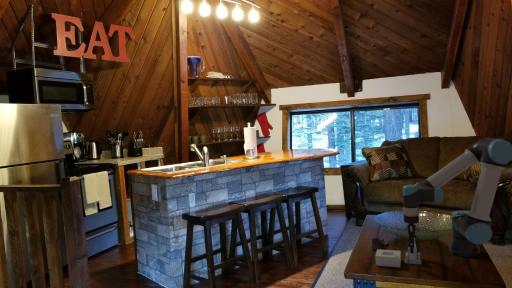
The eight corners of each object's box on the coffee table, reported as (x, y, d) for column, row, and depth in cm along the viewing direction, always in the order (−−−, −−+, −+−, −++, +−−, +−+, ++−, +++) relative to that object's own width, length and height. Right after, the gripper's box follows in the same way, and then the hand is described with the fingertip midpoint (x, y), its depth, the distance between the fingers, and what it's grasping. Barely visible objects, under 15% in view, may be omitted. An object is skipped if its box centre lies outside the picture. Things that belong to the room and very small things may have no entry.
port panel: (401, 261, 212) (400, 250, 212) (400, 269, 203) (399, 256, 203) (377, 260, 217) (377, 248, 217) (375, 267, 208) (375, 255, 207)
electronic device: (386, 254, 225) (386, 241, 224) (371, 250, 232) (370, 238, 231) (390, 251, 228) (390, 239, 227) (375, 248, 235) (374, 236, 234)
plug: (417, 260, 210) (416, 244, 209) (417, 262, 207) (416, 246, 206) (409, 260, 211) (408, 243, 211) (408, 262, 209) (408, 245, 208)
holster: (421, 261, 210) (420, 252, 210) (421, 266, 205) (420, 256, 205) (405, 260, 214) (404, 251, 213) (404, 264, 208) (404, 255, 208)
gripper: (404, 208, 220) (405, 245, 222) (402, 220, 197) (403, 262, 199) (419, 208, 217) (420, 246, 219) (418, 221, 194) (420, 263, 196)
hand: (412, 254), depth 209 cm, fingers open, 13 cm apart
